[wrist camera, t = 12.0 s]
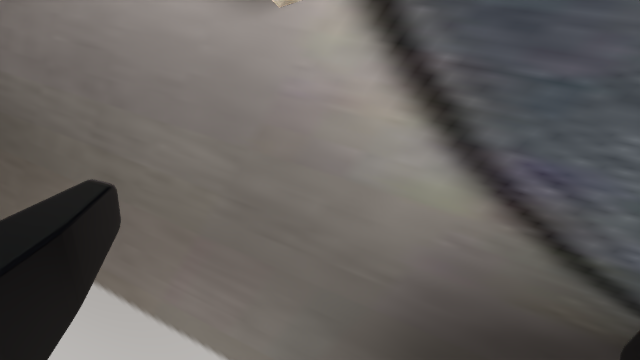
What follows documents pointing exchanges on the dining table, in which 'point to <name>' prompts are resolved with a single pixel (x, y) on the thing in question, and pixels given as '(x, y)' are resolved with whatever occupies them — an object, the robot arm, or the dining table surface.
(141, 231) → the dining table surface
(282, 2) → the plinth
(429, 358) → the dining table surface
